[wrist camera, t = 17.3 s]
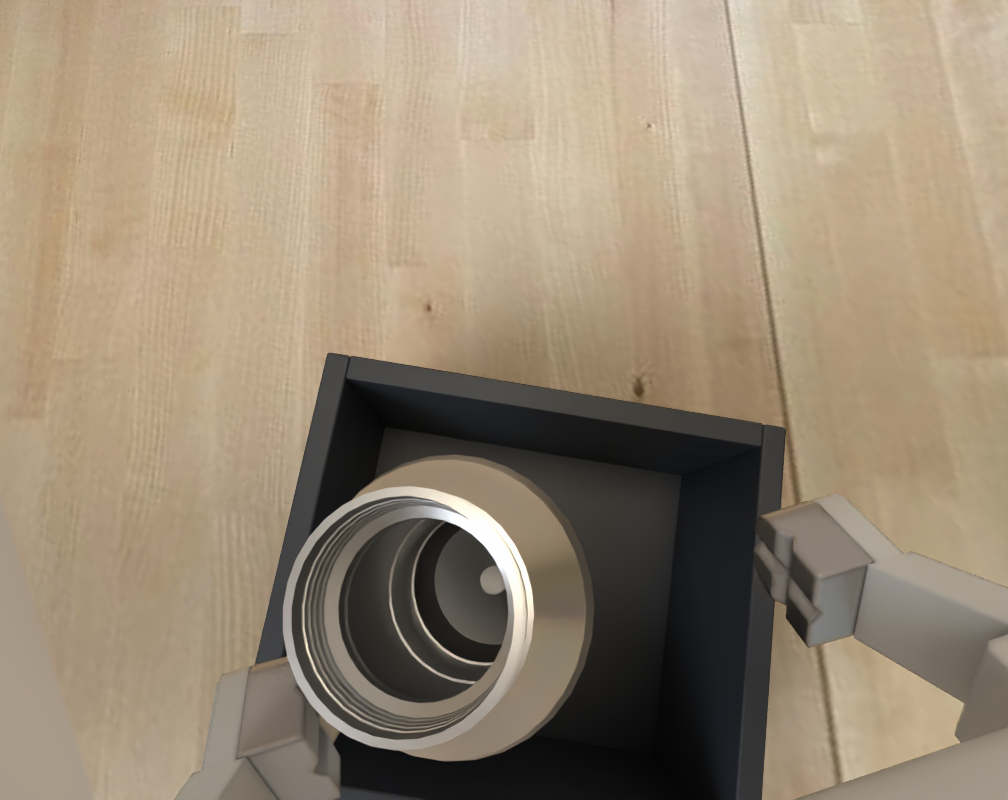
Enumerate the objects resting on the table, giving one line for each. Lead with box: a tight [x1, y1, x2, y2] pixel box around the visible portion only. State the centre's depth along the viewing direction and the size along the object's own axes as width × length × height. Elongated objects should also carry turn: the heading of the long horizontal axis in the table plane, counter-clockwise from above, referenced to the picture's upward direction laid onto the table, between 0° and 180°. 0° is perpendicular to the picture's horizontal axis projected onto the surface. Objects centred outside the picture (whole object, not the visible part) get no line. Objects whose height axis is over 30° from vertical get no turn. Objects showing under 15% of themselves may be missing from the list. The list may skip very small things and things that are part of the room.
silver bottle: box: [283, 454, 594, 761], centre depth 19 cm, size 6×7×20 cm
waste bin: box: [255, 353, 786, 800], centre depth 25 cm, size 16×14×10 cm
